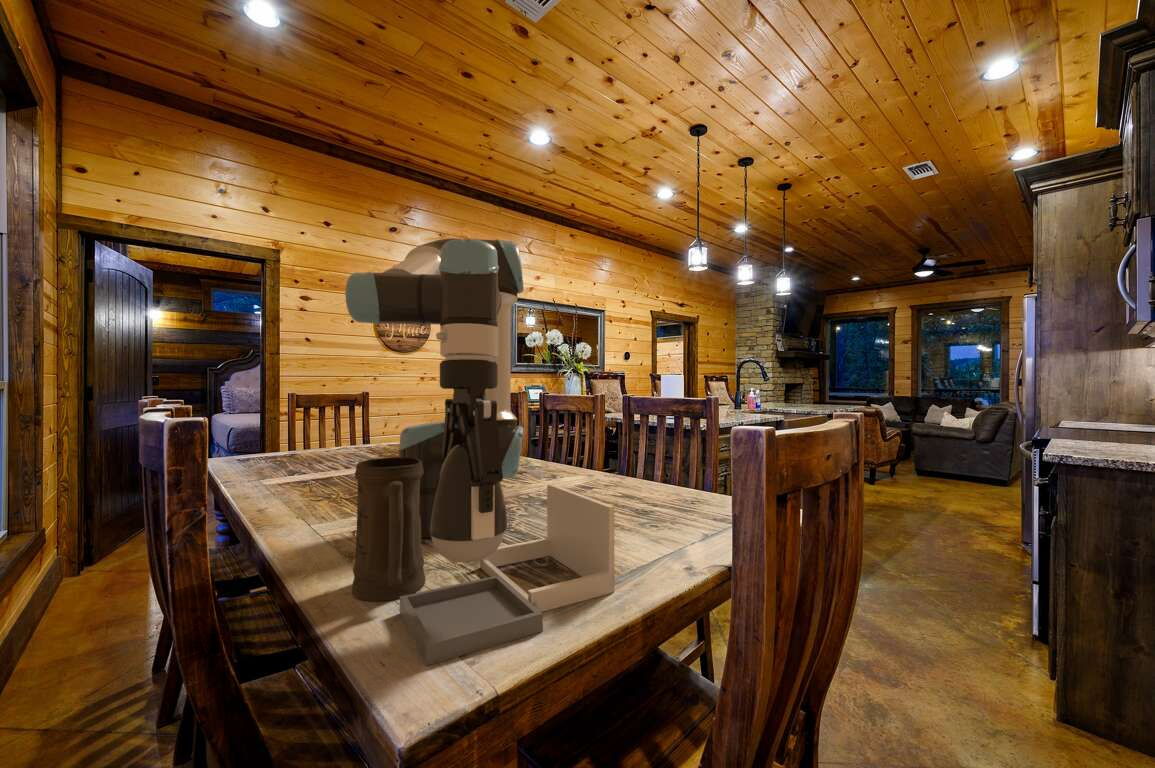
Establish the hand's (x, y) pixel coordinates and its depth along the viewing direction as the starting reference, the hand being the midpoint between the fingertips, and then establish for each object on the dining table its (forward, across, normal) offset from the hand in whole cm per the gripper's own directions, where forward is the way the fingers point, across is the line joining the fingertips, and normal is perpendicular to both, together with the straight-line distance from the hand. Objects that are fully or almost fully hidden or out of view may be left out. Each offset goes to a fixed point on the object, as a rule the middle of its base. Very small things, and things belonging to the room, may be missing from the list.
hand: (468, 527), depth 64 cm
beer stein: (+13, -15, -7) cm, 21 cm away
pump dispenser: (+4, 0, 0) cm, 4 cm away
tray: (+13, 0, 0) cm, 13 cm away
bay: (+13, -8, +15) cm, 21 cm away
